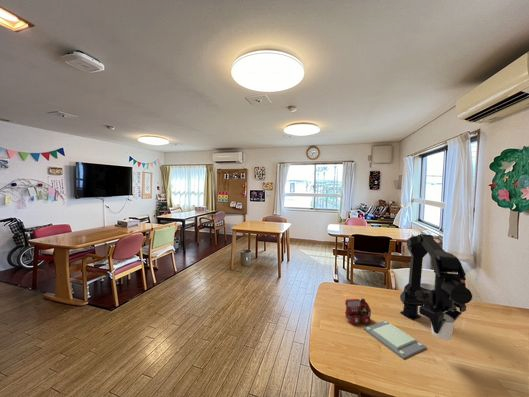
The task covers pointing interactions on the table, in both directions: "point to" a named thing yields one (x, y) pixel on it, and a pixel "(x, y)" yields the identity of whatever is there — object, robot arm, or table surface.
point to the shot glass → (445, 328)
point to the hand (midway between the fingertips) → (441, 330)
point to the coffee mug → (427, 287)
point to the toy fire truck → (358, 311)
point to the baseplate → (395, 339)
